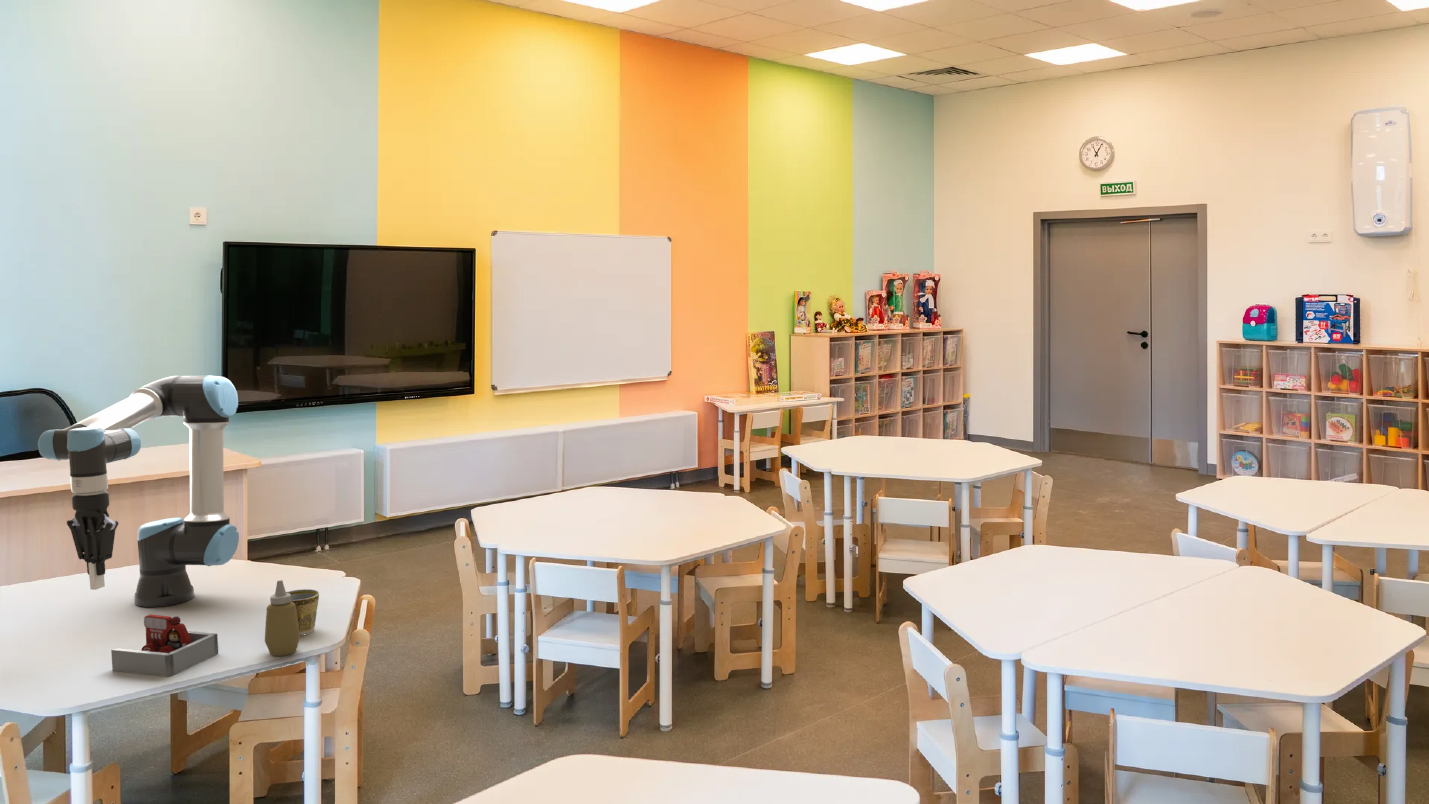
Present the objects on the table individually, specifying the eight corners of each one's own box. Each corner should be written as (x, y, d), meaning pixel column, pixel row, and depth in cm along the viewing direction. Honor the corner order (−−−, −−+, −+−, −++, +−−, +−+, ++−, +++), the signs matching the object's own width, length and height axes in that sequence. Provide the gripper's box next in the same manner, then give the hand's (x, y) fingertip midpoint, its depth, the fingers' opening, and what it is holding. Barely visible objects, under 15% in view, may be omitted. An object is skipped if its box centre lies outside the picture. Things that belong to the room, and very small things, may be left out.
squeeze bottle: (288, 644, 250) (285, 574, 248) (307, 651, 245) (304, 579, 243) (258, 654, 243) (254, 582, 241) (277, 660, 239) (273, 587, 237)
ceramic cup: (327, 632, 259) (325, 594, 258) (288, 641, 252) (286, 602, 251) (306, 620, 268) (304, 584, 267) (268, 629, 261) (266, 592, 260)
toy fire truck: (178, 665, 236) (175, 622, 235) (135, 660, 239) (133, 618, 238) (200, 655, 243) (198, 613, 241) (159, 650, 246) (156, 609, 245)
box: (112, 670, 232) (111, 649, 232) (163, 648, 247) (162, 628, 247) (170, 676, 229) (169, 655, 228) (218, 653, 244) (217, 633, 243)
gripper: (54, 494, 236) (62, 590, 239) (99, 496, 233) (107, 594, 236) (81, 487, 243) (88, 581, 246) (125, 490, 240) (132, 585, 243)
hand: (97, 587), depth 241 cm, fingers closed
